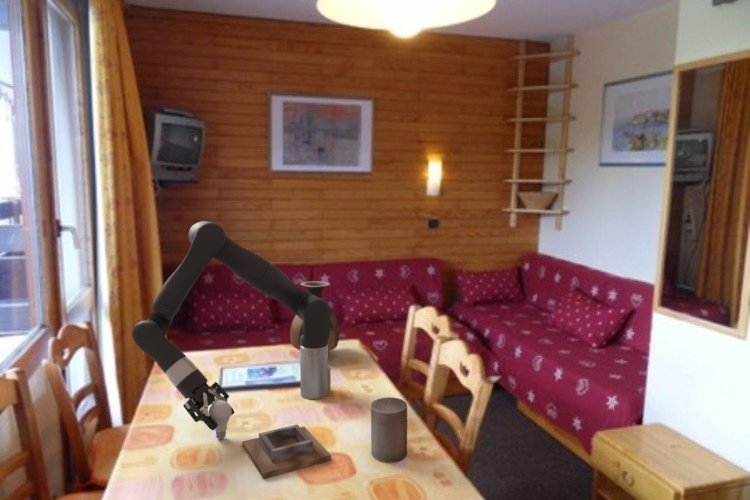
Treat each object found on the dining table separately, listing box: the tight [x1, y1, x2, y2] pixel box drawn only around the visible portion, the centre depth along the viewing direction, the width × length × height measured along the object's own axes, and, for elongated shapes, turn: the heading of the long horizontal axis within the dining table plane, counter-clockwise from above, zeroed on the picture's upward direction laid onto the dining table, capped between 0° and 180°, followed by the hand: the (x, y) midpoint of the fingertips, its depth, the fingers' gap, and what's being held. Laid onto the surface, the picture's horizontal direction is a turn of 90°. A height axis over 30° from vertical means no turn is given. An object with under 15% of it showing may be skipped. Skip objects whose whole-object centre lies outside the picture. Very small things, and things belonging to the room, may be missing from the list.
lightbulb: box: [208, 400, 232, 440], centre depth 151 cm, size 6×6×11 cm
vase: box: [289, 280, 340, 352], centre depth 217 cm, size 23×19×30 cm
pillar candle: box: [370, 396, 408, 463], centre depth 144 cm, size 10×10×15 cm
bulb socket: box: [241, 424, 332, 480], centre depth 144 cm, size 18×18×4 cm
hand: (224, 421), depth 151 cm, fingers open, 8 cm apart
